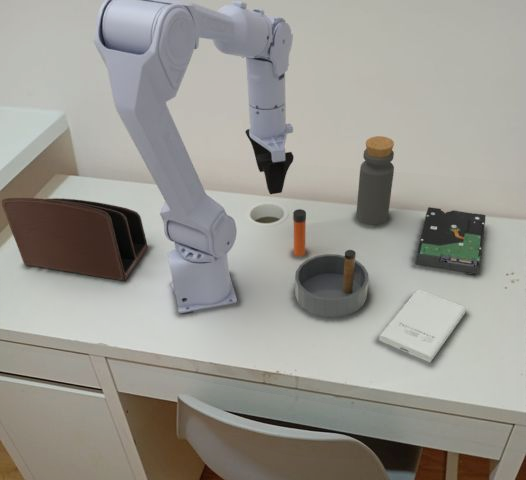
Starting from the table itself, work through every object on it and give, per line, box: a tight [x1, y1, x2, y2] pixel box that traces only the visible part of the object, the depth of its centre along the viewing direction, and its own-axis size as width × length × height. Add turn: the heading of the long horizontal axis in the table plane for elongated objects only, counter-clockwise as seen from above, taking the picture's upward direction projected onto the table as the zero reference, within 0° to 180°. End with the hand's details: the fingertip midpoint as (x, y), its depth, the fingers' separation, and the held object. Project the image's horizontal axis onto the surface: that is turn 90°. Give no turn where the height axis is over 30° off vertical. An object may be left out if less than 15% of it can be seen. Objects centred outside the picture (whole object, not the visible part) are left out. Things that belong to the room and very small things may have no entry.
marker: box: [292, 208, 307, 257], centre depth 98 cm, size 2×2×8 cm
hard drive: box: [378, 289, 467, 363], centre depth 87 cm, size 2×8×12 cm
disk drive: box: [415, 206, 486, 275], centre depth 100 cm, size 10×3×15 cm
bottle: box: [355, 135, 395, 227], centre depth 103 cm, size 6×6×15 cm
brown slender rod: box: [342, 249, 357, 293], centre depth 91 cm, size 2×2×8 cm
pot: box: [294, 253, 370, 319], centre depth 92 cm, size 11×11×4 cm
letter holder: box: [1, 197, 149, 282], centre depth 99 cm, size 10×20×14 cm, turn 74°
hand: (270, 181), depth 99 cm, fingers open, 7 cm apart
